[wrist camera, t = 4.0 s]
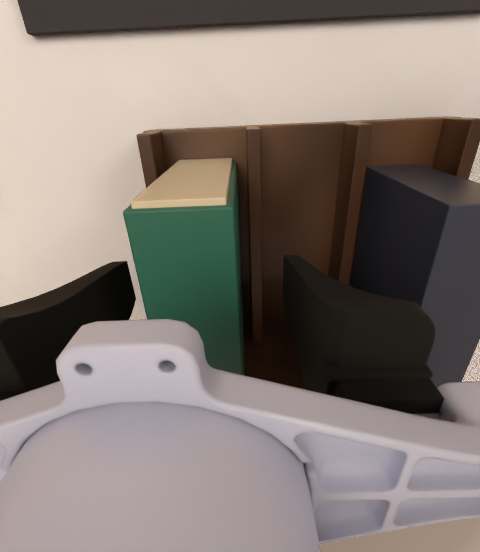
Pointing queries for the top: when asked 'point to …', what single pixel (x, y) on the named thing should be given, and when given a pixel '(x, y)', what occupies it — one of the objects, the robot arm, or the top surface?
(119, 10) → the felt mat
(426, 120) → the book rack
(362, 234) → the navy book
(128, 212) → the green book
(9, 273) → the top surface
